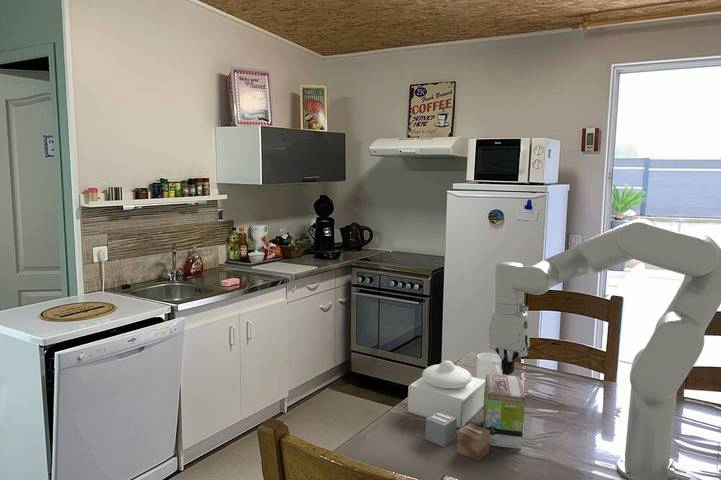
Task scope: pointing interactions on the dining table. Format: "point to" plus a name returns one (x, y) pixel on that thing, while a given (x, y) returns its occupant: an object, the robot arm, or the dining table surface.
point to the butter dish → (446, 393)
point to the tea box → (504, 410)
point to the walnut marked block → (473, 441)
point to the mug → (488, 365)
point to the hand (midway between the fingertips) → (507, 373)
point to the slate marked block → (441, 428)
